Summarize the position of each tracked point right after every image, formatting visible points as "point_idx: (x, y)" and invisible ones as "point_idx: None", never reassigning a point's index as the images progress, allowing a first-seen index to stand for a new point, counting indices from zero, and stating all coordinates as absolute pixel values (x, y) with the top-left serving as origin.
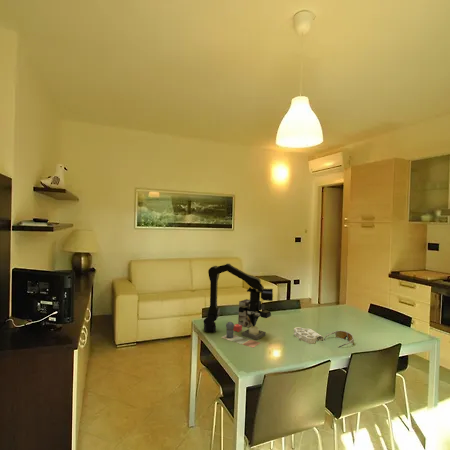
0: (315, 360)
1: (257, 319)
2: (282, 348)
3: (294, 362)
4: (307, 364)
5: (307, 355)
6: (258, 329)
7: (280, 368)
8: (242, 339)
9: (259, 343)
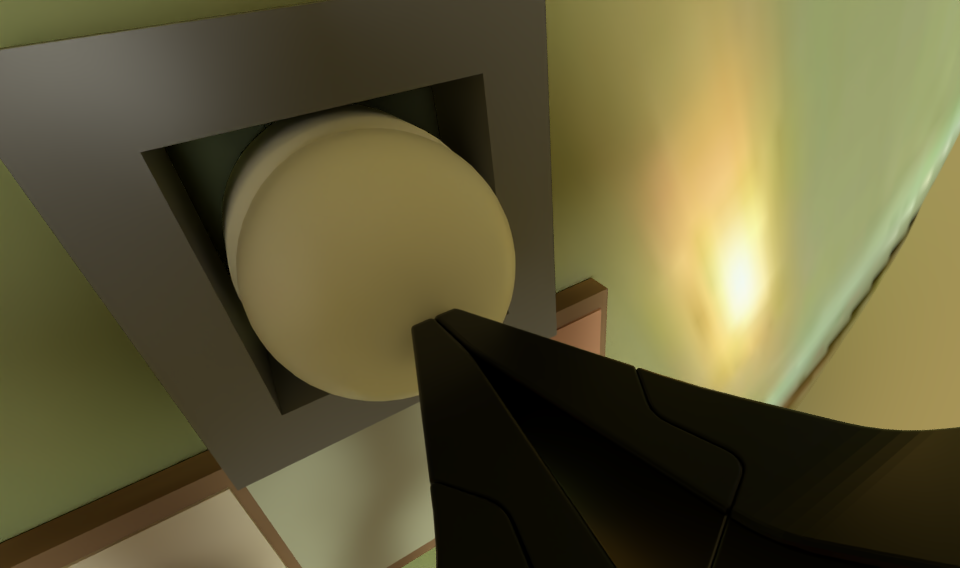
0: (954, 112)
1: (707, 396)
2: (772, 148)
3: (843, 267)
4: (900, 215)
5: (930, 79)
6: (488, 188)
7: (784, 384)
8: (379, 472)
9: (598, 335)
